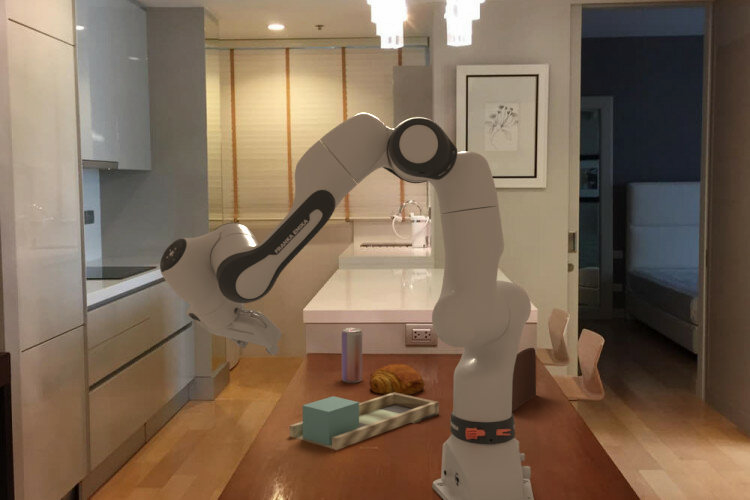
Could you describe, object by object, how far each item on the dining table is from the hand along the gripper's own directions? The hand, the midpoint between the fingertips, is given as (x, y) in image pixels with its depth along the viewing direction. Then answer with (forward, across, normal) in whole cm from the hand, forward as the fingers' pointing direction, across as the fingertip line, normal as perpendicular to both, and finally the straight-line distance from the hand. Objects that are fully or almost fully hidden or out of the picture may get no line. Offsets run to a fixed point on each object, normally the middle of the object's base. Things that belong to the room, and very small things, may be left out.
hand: (259, 348), depth 168 cm
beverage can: (+62, +32, -27) cm, 75 cm away
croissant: (+63, +16, -28) cm, 70 cm away
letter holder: (+69, -13, -35) cm, 79 cm away
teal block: (+31, 0, +2) cm, 31 cm away
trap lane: (+41, 0, -7) cm, 41 cm away
